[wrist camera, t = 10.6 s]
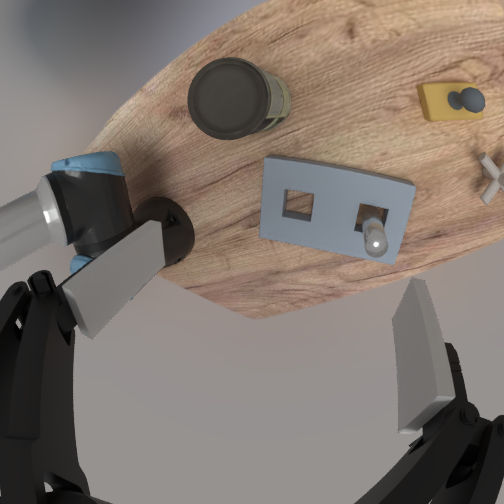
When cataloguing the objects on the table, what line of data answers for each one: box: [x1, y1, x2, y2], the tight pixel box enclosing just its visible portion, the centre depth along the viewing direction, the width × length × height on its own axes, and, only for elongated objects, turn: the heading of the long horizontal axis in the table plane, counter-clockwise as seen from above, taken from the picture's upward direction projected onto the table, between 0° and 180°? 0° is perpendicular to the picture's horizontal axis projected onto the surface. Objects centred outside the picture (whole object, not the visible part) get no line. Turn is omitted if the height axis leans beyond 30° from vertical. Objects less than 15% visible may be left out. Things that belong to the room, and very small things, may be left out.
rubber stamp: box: [417, 82, 485, 121], centre depth 24 cm, size 10×6×12 cm, turn 108°
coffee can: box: [188, 57, 291, 140], centre depth 33 cm, size 10×10×14 cm
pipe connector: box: [478, 152, 504, 205], centre depth 27 cm, size 10×10×10 cm
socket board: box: [259, 155, 416, 265], centre depth 43 cm, size 24×14×3 cm, turn 87°
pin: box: [361, 205, 388, 258], centre depth 37 cm, size 3×3×12 cm
